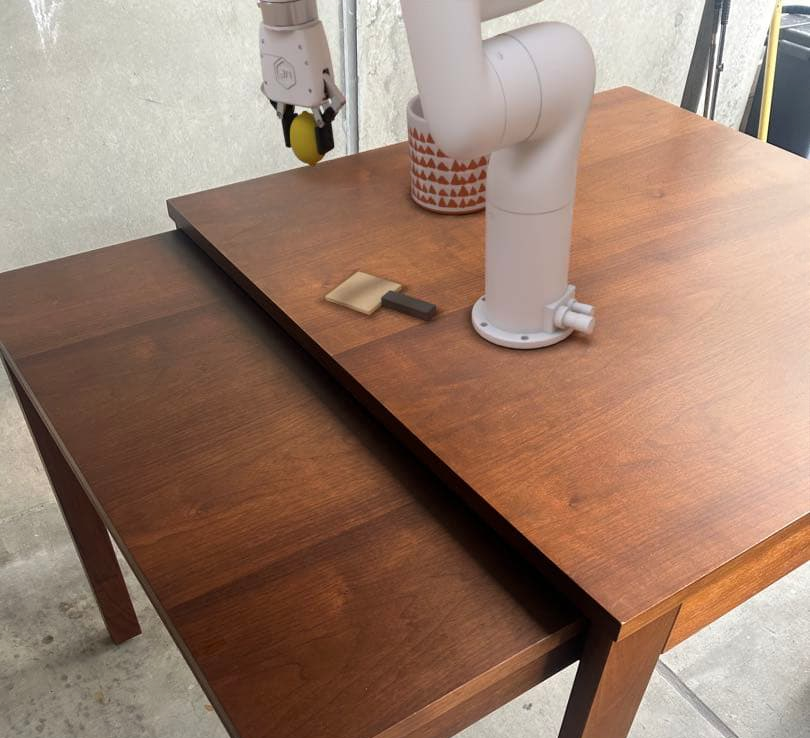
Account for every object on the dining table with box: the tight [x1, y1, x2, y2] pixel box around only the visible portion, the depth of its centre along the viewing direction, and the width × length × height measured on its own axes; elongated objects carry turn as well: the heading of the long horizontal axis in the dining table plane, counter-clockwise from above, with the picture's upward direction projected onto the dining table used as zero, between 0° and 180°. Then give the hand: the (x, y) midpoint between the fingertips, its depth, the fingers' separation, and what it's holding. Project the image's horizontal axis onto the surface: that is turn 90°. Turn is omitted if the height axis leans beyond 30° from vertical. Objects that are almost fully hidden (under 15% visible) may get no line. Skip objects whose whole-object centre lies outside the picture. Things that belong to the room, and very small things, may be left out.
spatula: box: [324, 270, 437, 322], centre depth 108 cm, size 14×7×1 cm, turn 55°
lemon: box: [290, 110, 326, 168], centre depth 128 cm, size 6×6×8 cm
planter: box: [406, 93, 491, 215], centre depth 123 cm, size 14×14×13 cm
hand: (310, 146), depth 129 cm, fingers closed on lemon, 5 cm apart
